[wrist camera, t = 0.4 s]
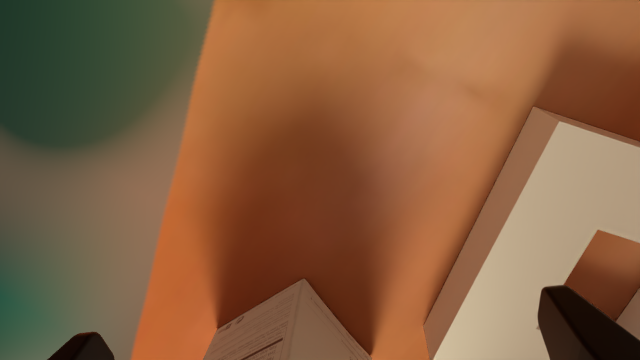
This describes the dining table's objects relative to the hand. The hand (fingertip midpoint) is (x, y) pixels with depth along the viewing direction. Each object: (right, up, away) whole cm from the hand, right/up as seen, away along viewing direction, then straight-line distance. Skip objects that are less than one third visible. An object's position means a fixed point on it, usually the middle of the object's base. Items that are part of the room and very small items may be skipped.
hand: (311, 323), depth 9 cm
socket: (+15, -2, +15) cm, 22 cm away
